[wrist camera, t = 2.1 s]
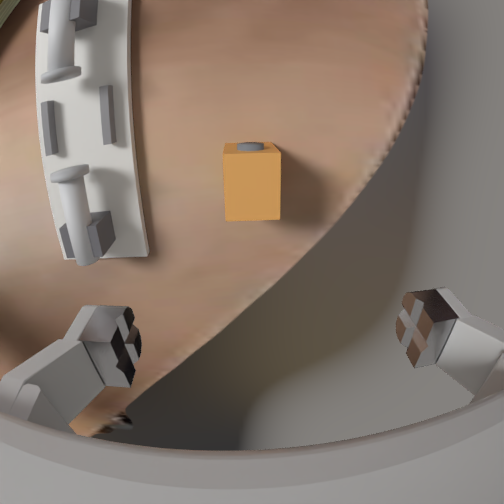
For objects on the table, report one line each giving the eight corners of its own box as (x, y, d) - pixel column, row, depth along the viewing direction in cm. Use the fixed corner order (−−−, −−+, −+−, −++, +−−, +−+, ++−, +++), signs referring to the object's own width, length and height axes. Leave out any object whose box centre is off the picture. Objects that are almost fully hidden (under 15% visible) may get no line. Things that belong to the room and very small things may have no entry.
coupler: (270, 199, 28) (279, 224, 23) (227, 201, 28) (226, 226, 23) (271, 137, 25) (281, 147, 20) (225, 138, 25) (222, 148, 20)
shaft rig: (149, 251, 30) (134, 283, 25) (68, 255, 29) (44, 283, 24) (133, -23, 17) (112, -46, 12) (44, 6, 16) (12, -5, 11)
